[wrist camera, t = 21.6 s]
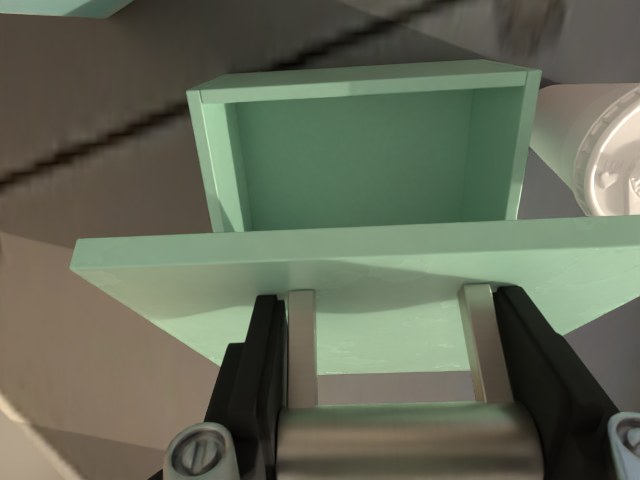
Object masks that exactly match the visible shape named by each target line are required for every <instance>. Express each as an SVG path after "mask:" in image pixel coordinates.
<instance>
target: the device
mask: <svg viewBox="0 0 640 480" xmlns="http://www.w3.org/2000/svg"><path fill="white" fill-rule="evenodd" d="M132 1H134V0H0V13H11V14H30V15H49V16H68V17H87V18H106V19H107V18H108V17H110V16H111V15H113V14H114V13H116V12H117V11H119V10H120V9H122V8H123V7H125V6H126V5H128V4H129V3H131V2H132Z"/></svg>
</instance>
